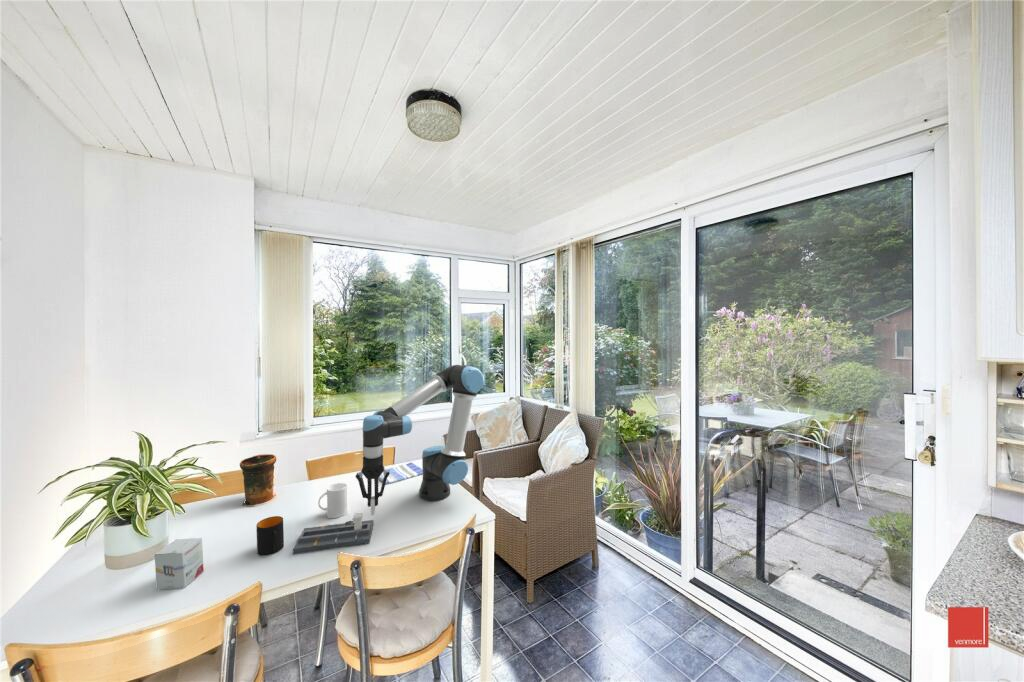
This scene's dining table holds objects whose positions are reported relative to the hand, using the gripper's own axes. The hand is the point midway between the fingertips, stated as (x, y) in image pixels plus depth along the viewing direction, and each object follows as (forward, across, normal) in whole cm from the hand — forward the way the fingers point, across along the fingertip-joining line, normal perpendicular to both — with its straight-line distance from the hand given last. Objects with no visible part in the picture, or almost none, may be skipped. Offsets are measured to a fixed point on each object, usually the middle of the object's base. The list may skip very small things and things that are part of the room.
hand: (373, 513), depth 146 cm
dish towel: (+8, -7, -58) cm, 59 cm away
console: (+8, +14, 0) cm, 16 cm away
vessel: (+9, +56, -43) cm, 71 cm away
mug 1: (+9, +35, +3) cm, 36 cm away
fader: (+6, +6, 0) cm, 8 cm away
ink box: (+9, +58, +13) cm, 60 cm away
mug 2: (+9, +19, -20) cm, 29 cm away
